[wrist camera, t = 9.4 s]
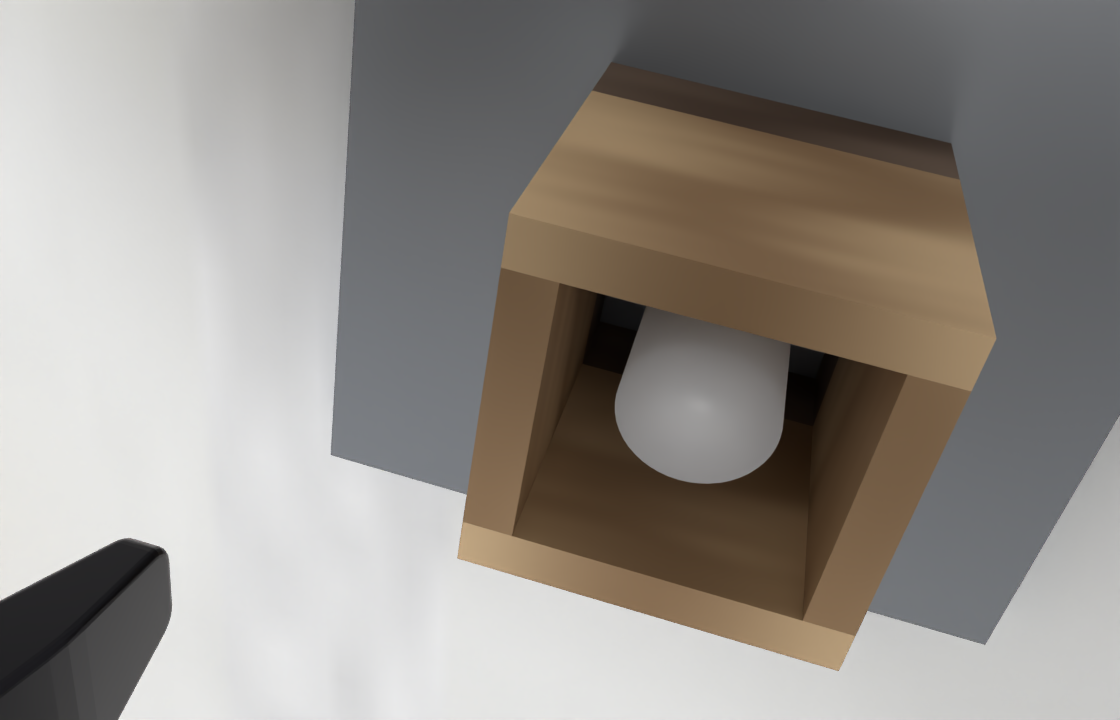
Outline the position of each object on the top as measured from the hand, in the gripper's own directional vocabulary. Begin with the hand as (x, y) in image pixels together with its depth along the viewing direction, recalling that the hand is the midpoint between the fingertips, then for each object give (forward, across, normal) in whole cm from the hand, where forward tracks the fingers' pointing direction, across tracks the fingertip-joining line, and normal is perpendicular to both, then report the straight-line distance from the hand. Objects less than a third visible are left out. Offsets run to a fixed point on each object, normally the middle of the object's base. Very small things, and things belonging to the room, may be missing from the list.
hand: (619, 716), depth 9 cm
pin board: (+11, 0, 0) cm, 11 cm away
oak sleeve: (+10, 0, 0) cm, 10 cm away
